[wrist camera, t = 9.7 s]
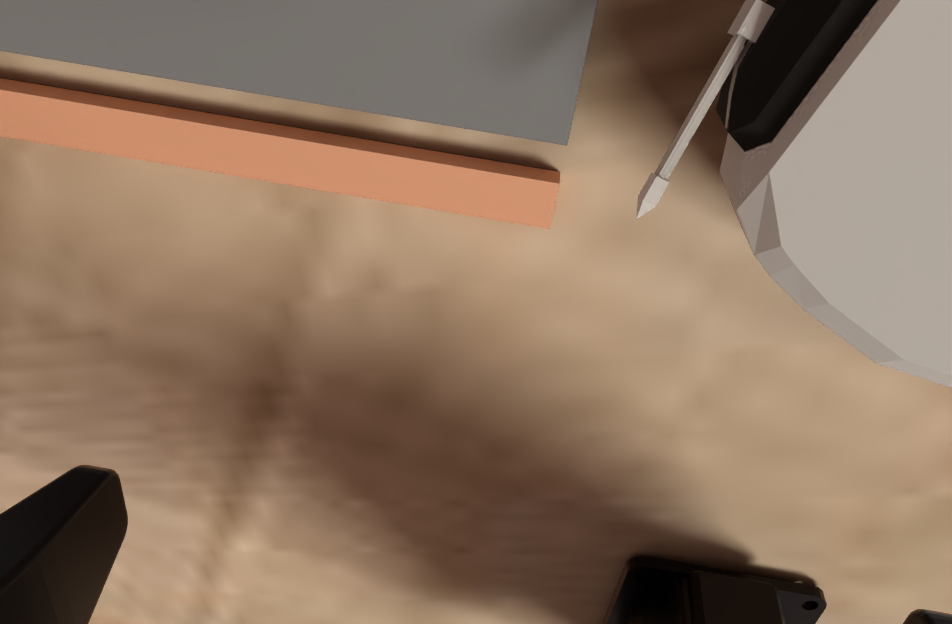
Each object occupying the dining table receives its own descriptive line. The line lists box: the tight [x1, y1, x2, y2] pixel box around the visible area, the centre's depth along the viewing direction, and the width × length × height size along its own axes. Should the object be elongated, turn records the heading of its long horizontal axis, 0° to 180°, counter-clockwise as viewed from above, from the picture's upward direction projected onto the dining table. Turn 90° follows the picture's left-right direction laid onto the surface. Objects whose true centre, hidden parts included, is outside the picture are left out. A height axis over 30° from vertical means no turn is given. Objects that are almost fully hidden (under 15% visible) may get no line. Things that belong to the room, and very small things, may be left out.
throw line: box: [0, 78, 560, 229], centre depth 19 cm, size 1×20×1 cm, turn 83°
